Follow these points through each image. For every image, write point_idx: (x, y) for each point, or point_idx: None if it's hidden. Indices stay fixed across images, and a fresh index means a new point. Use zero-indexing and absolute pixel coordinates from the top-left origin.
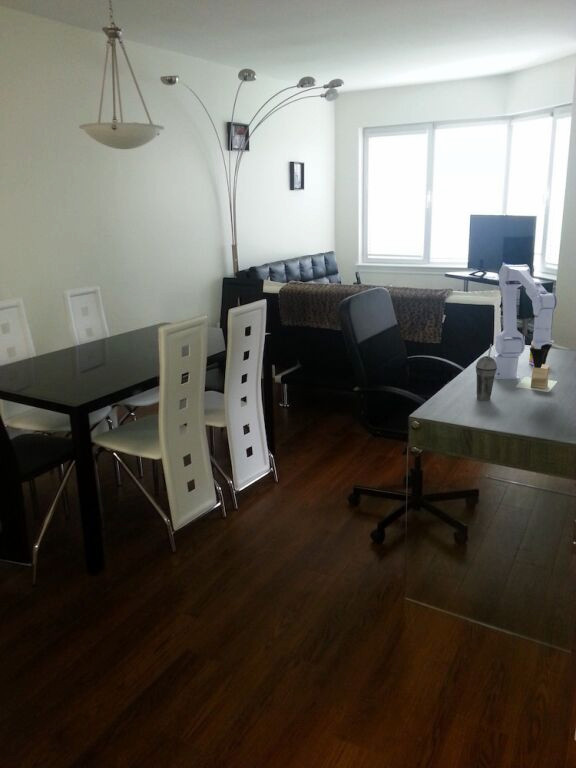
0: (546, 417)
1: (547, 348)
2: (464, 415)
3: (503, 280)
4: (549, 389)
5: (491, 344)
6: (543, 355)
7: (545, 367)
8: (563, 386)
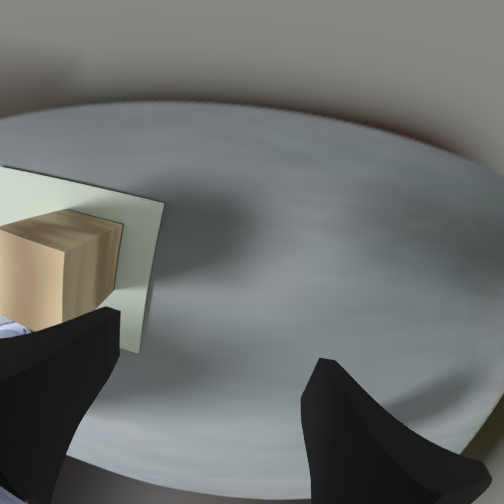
0: (485, 243)
1: (13, 407)
2: (452, 427)
3: None
4: (118, 199)
5: None
6: (429, 442)
7: (40, 261)
8: (46, 135)
